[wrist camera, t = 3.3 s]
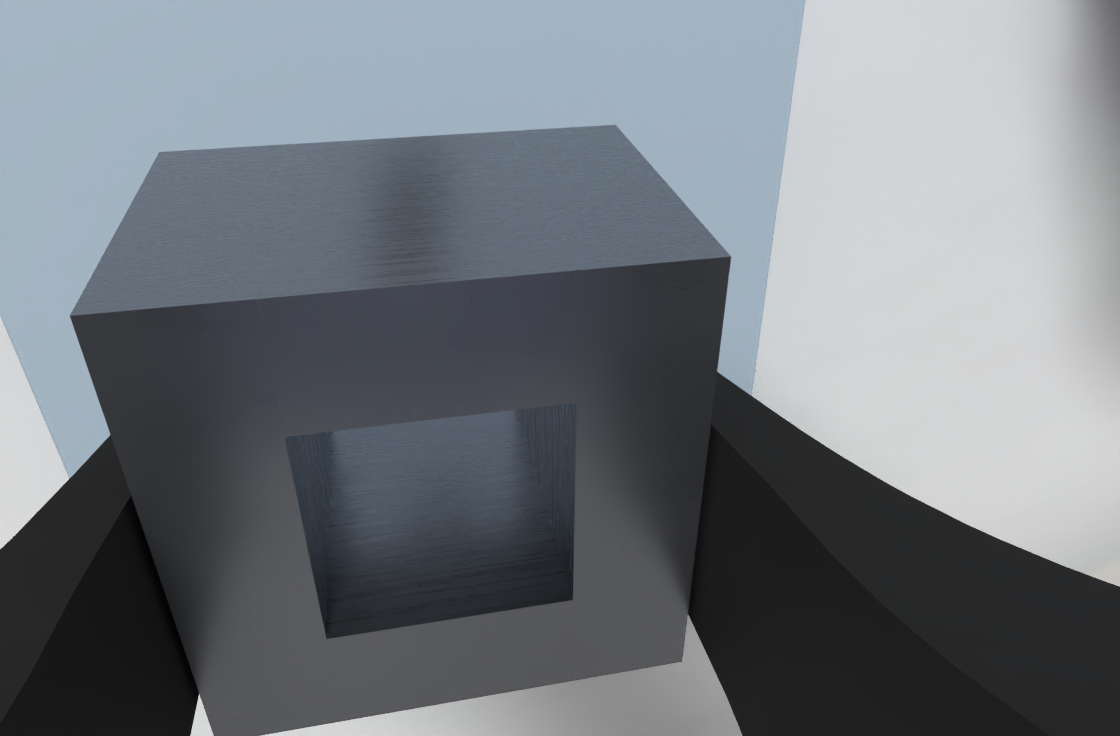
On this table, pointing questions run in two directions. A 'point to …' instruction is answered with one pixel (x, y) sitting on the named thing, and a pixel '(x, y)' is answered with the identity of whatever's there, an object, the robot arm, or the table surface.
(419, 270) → the collar
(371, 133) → the board
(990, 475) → the table surface
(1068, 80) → the table surface
